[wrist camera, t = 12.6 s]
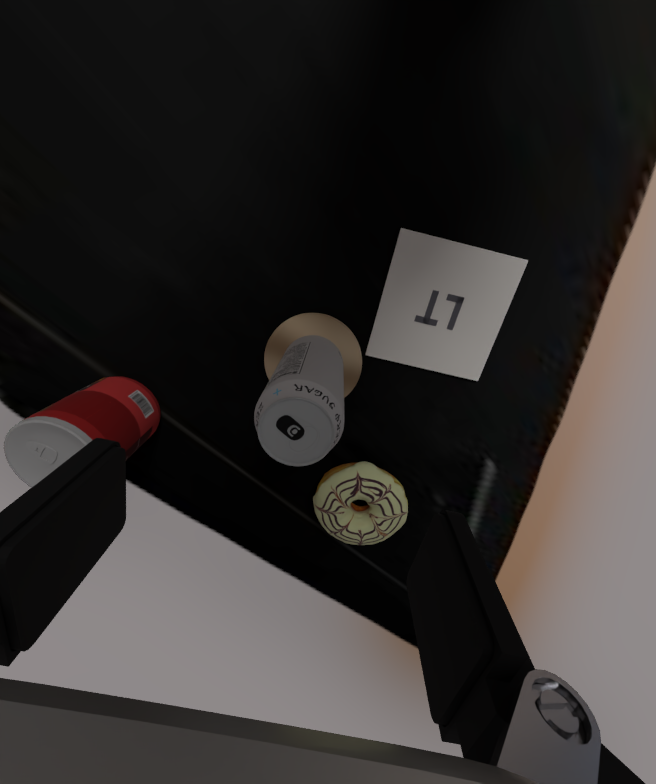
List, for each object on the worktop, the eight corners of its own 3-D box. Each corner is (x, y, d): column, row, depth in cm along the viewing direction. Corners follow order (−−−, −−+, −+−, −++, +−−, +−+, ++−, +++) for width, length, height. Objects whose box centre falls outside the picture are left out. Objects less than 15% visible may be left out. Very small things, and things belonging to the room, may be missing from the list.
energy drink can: (314, 400, 37) (298, 490, 23) (272, 362, 36) (228, 433, 22) (355, 362, 35) (364, 433, 21) (312, 320, 34) (292, 368, 20)
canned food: (96, 363, 37) (3, 405, 27) (170, 390, 38) (107, 441, 28) (87, 423, 40) (-1, 482, 30) (156, 446, 41) (94, 512, 30)
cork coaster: (274, 302, 34) (273, 302, 33) (373, 325, 35) (373, 326, 34) (258, 394, 38) (257, 396, 37) (348, 414, 38) (348, 416, 38)
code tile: (400, 228, 31) (401, 227, 31) (526, 260, 32) (528, 260, 32) (365, 354, 36) (365, 355, 35) (476, 380, 36) (477, 381, 36)
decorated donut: (360, 438, 40) (362, 457, 36) (421, 494, 42) (429, 516, 39) (298, 491, 43) (294, 513, 39) (358, 540, 45) (360, 564, 42)
